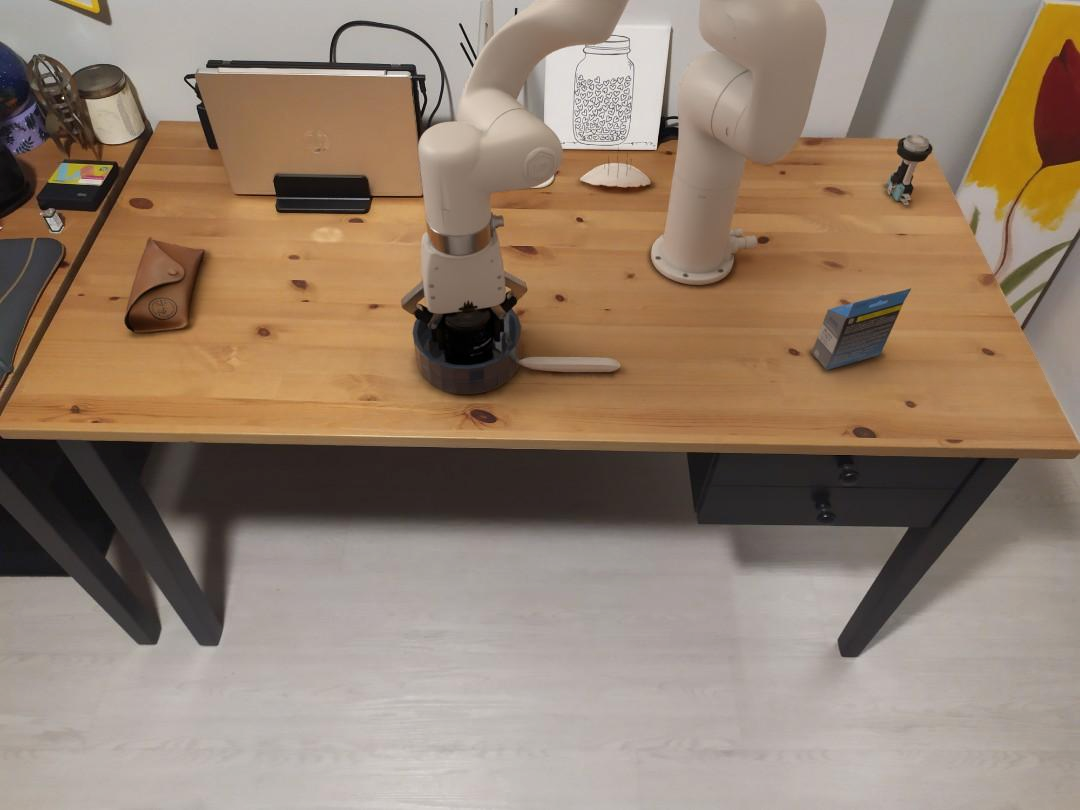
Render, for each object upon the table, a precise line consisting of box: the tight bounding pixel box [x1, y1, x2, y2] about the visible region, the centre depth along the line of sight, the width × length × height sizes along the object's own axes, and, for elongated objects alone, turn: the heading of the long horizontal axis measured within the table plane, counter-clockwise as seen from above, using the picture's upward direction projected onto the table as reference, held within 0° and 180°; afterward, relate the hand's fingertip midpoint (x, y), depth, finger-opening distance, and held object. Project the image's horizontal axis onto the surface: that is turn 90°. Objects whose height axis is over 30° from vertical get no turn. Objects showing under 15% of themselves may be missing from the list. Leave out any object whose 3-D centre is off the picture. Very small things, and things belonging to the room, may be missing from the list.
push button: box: [886, 133, 934, 206], centre depth 133 cm, size 7×5×10 cm
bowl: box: [412, 308, 523, 395], centre depth 109 cm, size 14×14×6 cm
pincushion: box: [579, 146, 651, 189], centre depth 136 cm, size 12×6×6 cm, turn 87°
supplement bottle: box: [441, 301, 494, 365], centre depth 106 cm, size 7×7×12 cm
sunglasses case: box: [123, 236, 206, 334], centre depth 118 cm, size 18×7×7 cm
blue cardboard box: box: [811, 287, 912, 371], centre depth 107 cm, size 9×4×12 cm, turn 110°
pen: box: [519, 356, 621, 373], centre depth 109 cm, size 2×14×2 cm, turn 90°
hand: (468, 338), depth 108 cm, fingers closed on supplement bottle, 6 cm apart
